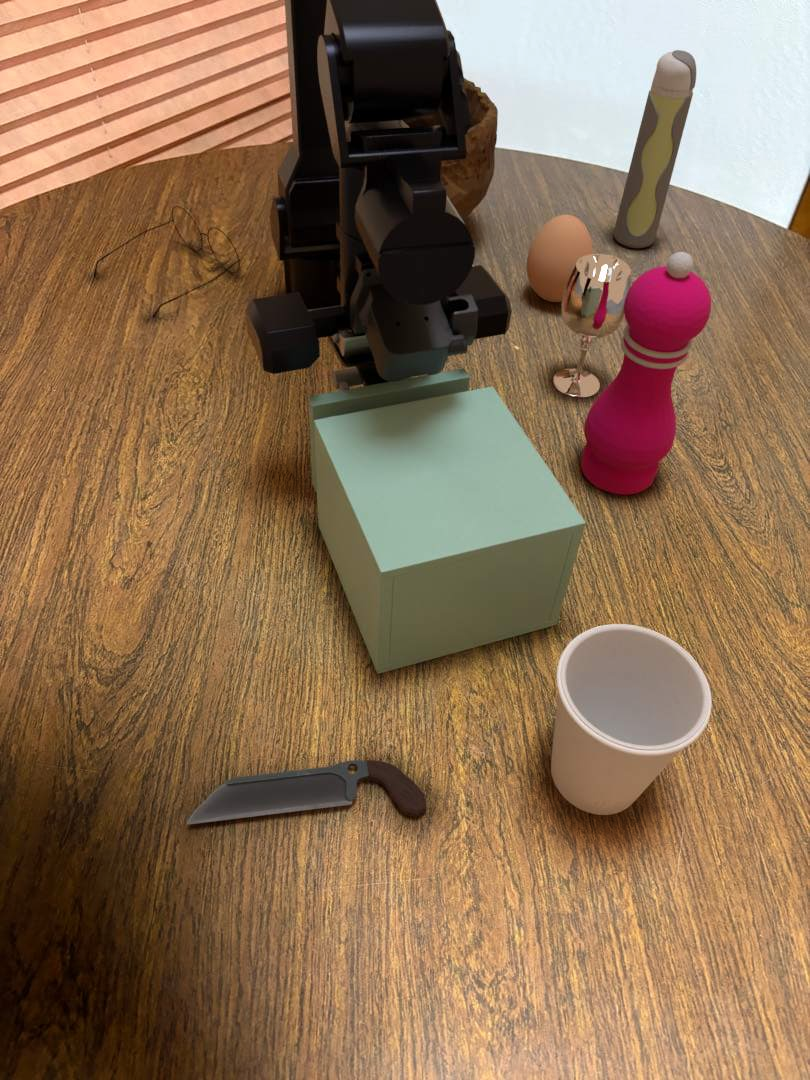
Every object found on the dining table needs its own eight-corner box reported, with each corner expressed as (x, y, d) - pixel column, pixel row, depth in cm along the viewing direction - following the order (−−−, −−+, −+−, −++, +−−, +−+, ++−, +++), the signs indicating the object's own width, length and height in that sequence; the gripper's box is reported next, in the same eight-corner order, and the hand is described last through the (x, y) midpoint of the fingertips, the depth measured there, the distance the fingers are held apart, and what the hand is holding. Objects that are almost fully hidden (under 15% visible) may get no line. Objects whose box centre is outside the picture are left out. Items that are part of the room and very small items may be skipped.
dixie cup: (665, 848, 51) (718, 766, 43) (524, 822, 51) (553, 736, 44) (661, 726, 56) (707, 635, 49) (534, 704, 57) (561, 610, 50)
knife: (416, 757, 54) (417, 751, 53) (427, 817, 51) (428, 812, 51) (188, 783, 52) (186, 778, 51) (187, 847, 49) (185, 842, 49)
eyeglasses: (159, 323, 85) (150, 276, 81) (87, 273, 91) (76, 228, 87) (247, 282, 91) (243, 238, 87) (175, 238, 96) (168, 195, 93)
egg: (582, 285, 93) (600, 204, 87) (585, 318, 89) (604, 236, 82) (521, 279, 94) (534, 198, 87) (521, 312, 89) (534, 229, 82)
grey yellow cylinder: (613, 227, 103) (656, 43, 88) (654, 233, 102) (704, 48, 88) (611, 247, 99) (656, 59, 85) (653, 253, 99) (706, 64, 84)
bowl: (388, 179, 109) (392, 50, 98) (515, 227, 102) (535, 93, 91) (290, 235, 98) (282, 97, 87) (424, 292, 91) (434, 150, 80)
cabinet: (318, 525, 67) (313, 419, 59) (477, 490, 71) (493, 385, 63) (377, 674, 58) (380, 572, 50) (557, 625, 62) (586, 522, 54)
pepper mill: (664, 454, 75) (741, 239, 60) (653, 509, 70) (733, 290, 55) (583, 434, 76) (638, 219, 62) (566, 486, 71) (622, 267, 57)
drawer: (296, 445, 72) (290, 357, 66) (433, 418, 75) (441, 332, 69) (363, 609, 61) (364, 523, 54) (522, 569, 64) (541, 483, 57)
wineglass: (605, 406, 79) (636, 290, 70) (543, 396, 80) (566, 280, 71) (608, 370, 83) (638, 255, 74) (548, 361, 84) (571, 246, 75)
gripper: (274, 308, 50) (289, 500, 61) (561, 264, 55) (525, 449, 66) (234, 219, 57) (254, 406, 68) (491, 187, 62) (470, 367, 73)
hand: (377, 408), depth 69 cm, fingers closed, pressing on drawer
